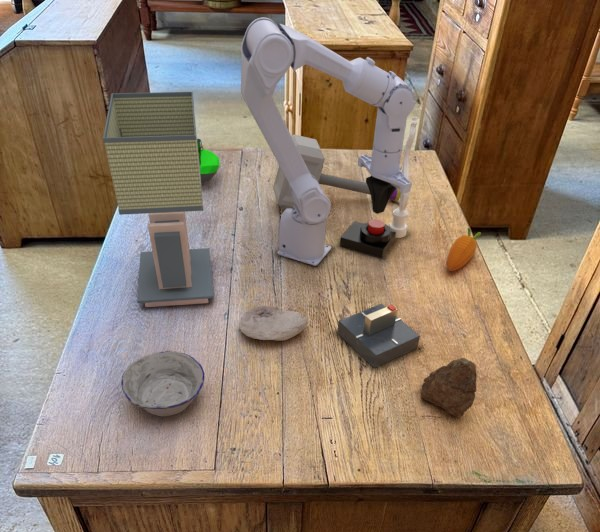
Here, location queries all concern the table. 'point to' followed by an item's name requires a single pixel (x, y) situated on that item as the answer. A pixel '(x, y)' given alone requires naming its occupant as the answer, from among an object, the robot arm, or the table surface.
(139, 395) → the bowl
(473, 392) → the rock
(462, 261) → the carrot
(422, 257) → the table surface
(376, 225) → the red button
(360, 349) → the panel
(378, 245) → the button box
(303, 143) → the hammer
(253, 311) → the fossil
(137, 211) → the desk lamp
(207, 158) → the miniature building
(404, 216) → the decorative finial
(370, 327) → the silver block
